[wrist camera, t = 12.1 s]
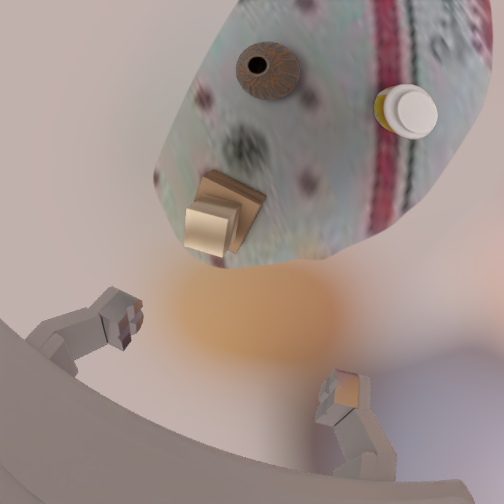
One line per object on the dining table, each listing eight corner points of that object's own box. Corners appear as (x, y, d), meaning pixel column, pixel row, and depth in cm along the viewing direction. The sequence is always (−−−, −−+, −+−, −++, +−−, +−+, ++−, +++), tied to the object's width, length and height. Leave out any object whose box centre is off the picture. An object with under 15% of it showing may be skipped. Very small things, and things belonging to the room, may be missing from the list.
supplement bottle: (393, 140, 30) (415, 155, 22) (363, 106, 29) (375, 106, 21) (424, 114, 27) (456, 120, 19) (394, 79, 26) (418, 70, 18)
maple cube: (204, 194, 36) (186, 208, 32) (241, 203, 36) (227, 219, 31) (200, 228, 39) (183, 245, 35) (235, 238, 38) (222, 257, 34)
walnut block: (214, 169, 39) (202, 176, 35) (267, 195, 39) (260, 205, 35) (196, 216, 43) (184, 227, 40) (244, 241, 43) (235, 254, 40)
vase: (235, 72, 31) (208, 65, 24) (276, 38, 28) (260, 19, 20) (271, 111, 33) (253, 113, 25) (315, 77, 29) (310, 68, 22)
